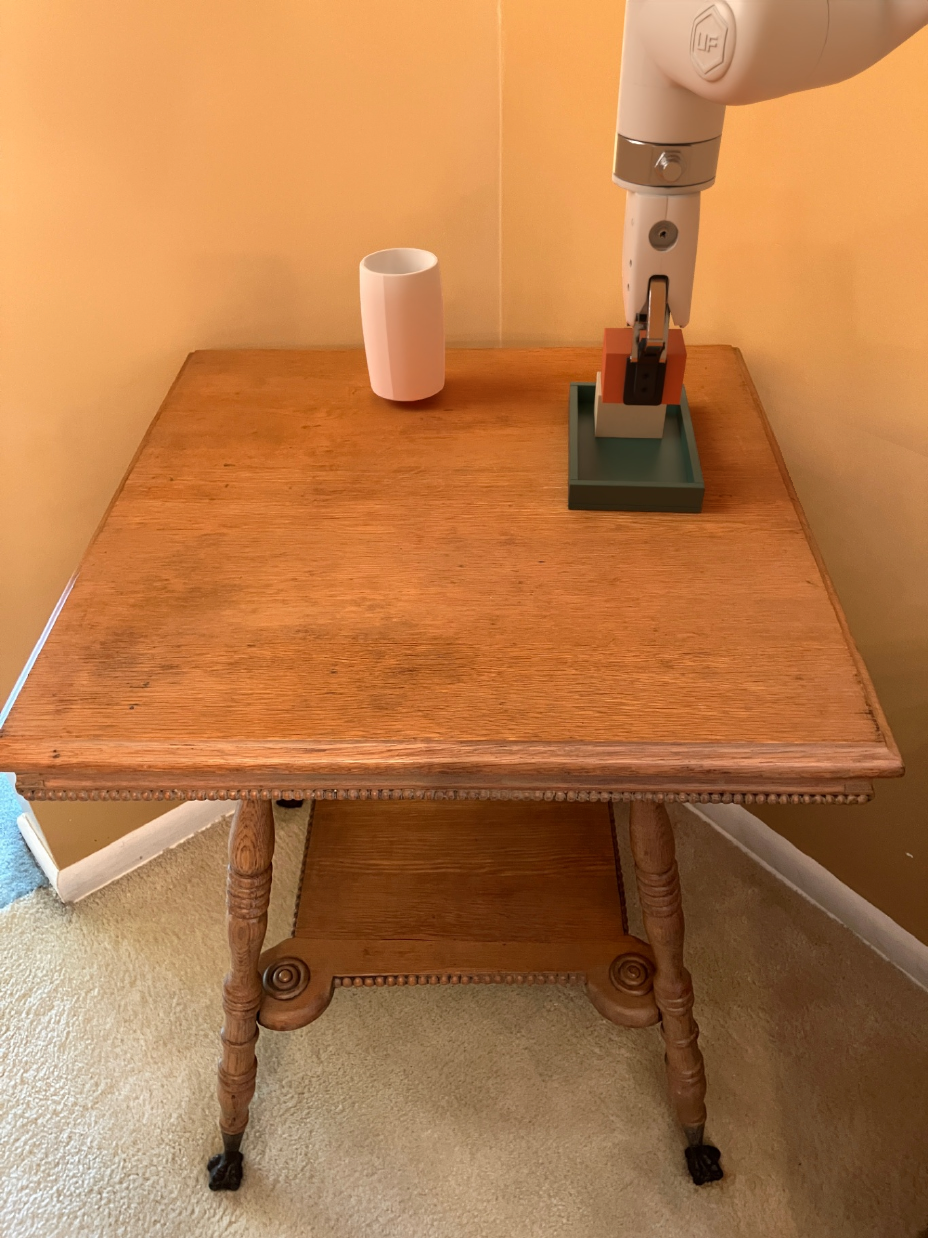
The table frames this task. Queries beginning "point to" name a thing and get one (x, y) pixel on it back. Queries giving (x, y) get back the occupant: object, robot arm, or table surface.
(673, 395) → the orange-red block
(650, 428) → the cream white rectangular block
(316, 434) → the table surface
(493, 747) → the table surface
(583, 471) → the tray
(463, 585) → the table surface
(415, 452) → the table surface
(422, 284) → the cup
